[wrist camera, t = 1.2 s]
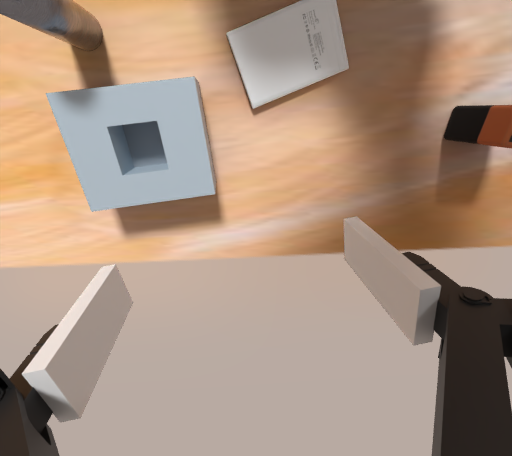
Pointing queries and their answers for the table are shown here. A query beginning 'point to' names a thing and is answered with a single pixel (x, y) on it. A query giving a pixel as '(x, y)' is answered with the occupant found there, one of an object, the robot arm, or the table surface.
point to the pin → (56, 20)
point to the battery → (481, 125)
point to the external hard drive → (289, 49)
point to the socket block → (137, 142)
